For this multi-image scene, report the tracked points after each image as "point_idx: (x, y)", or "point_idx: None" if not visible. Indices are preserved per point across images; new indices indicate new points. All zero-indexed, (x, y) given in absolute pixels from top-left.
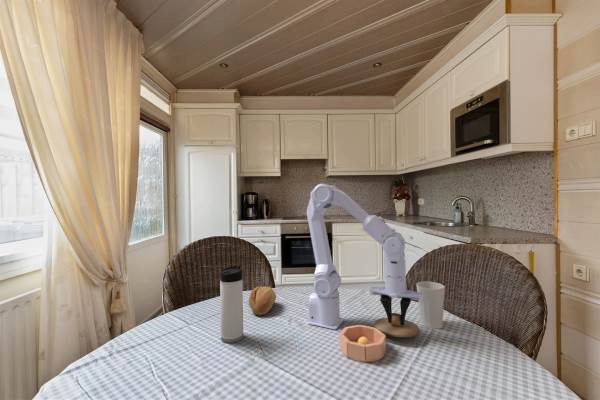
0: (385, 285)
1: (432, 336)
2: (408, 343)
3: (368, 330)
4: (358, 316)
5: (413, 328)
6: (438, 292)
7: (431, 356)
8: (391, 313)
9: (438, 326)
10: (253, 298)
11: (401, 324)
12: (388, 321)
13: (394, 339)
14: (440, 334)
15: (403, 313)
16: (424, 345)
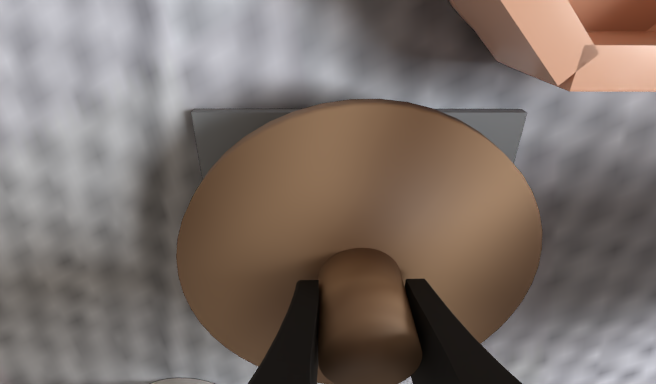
0: None
1: (142, 300)
2: (247, 132)
3: (635, 42)
4: (608, 358)
5: (223, 283)
6: None
7: (50, 25)
8: (417, 375)
9: None
10: None
11: (313, 281)
12: (429, 285)
13: None
14: (110, 337)
15: (280, 368)
16: (149, 172)
